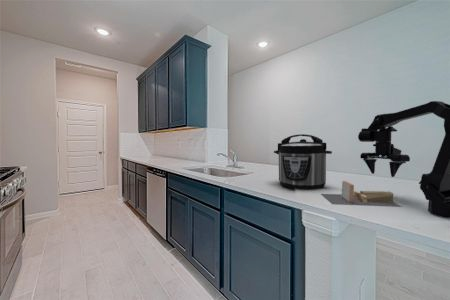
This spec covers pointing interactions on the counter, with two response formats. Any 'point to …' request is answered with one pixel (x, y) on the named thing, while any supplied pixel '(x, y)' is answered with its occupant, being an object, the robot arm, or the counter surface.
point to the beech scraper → (373, 196)
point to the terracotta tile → (348, 191)
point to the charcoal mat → (354, 201)
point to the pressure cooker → (302, 163)
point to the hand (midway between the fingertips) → (382, 175)
